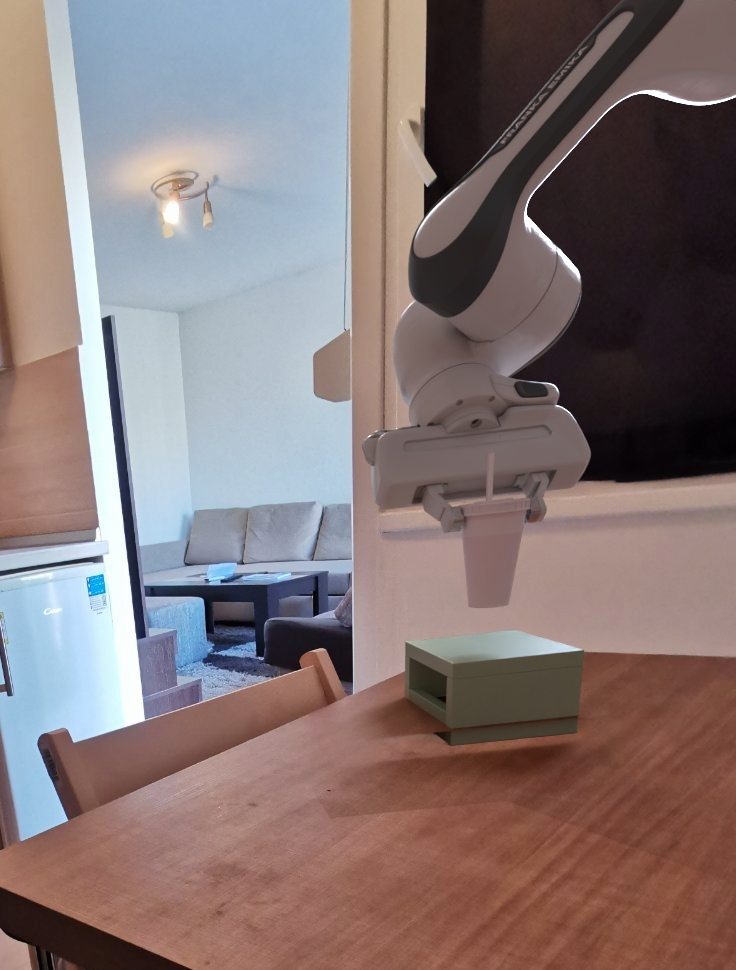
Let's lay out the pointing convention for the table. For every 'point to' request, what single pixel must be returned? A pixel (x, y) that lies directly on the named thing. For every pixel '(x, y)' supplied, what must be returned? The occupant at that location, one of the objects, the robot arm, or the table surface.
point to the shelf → (495, 684)
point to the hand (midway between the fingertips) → (495, 522)
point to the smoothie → (492, 545)
